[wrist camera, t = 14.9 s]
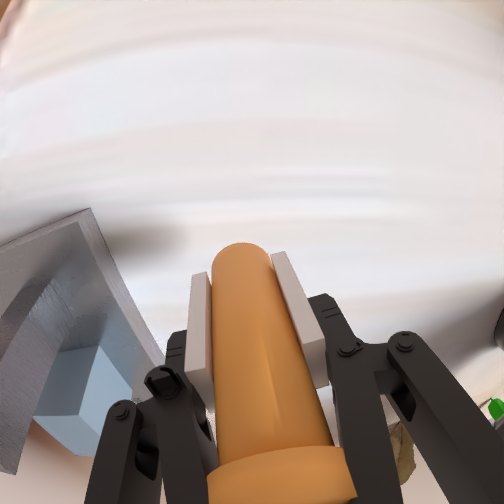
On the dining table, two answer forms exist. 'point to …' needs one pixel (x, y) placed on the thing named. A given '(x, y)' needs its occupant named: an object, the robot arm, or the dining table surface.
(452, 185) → the dining table surface
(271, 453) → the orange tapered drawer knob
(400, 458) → the rock
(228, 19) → the dining table surface
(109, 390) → the light blue block
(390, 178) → the dining table surface
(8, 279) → the gray base set
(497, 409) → the flower
